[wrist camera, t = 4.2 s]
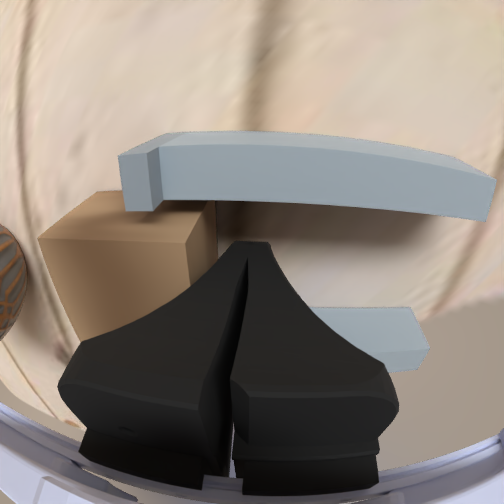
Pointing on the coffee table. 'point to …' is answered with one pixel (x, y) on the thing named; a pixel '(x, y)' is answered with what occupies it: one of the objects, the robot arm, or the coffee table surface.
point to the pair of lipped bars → (314, 199)
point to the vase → (10, 280)
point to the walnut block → (126, 258)
